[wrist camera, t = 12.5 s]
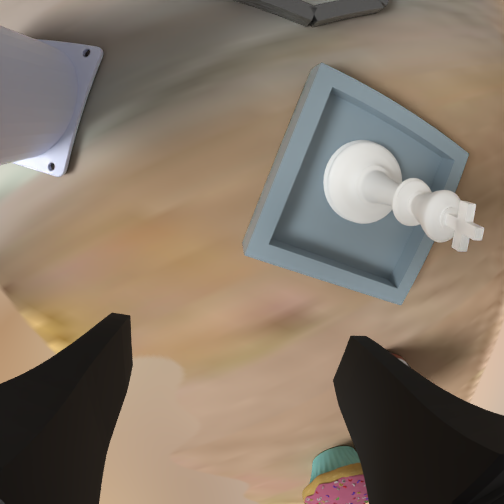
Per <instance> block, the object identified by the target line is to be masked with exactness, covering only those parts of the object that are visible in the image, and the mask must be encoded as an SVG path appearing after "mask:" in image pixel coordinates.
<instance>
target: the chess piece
mask: <svg viewBox="0 0 504 504" xmlns="http://www.w3.org/2000/svg"><path fill="white" fill-rule="evenodd" d="M323 185H324V192H325V196H326V199H327V201H328V203H329V205H330V206H331V208H332V209H333V210H334V211H335V212H336V213H337V214H338V215H339V216H341V217H342V218H344V219H346V220H349V221H352V222H355V223H360V224H367V223H373V222H376V221H378V220H380V219H382V218H384V217H385V216H386V215H387V214H389V213H390V212H391V210H392V209H393V213H394V216H395V217H396V219H397V220H398V221H399V222H400V223H401V224H403V225H406V226H416V225H419V224H420V225H421V227H422V229H423V230H424V232H425V233H426V235H427V236H428V237H429V238H430V239H432V240H433V241H435V242H446V241H448V240H450V239H452V238H453V242H452V248H453V249H455V250H457V251H458V252H467V248H468V244H469V239H470V238H471V239H472V240H482V237H483V233H484V227H482V226H480V225H478V224H475V223H473V220H474V214H475V209H476V204H474V203H471V202H469V201H462V200H460V198H459V197H458V195H457V194H455V193H454V192H452V191H449V190H439V191H435V192H431V190H430V188H429V187H428V185H427V184H426V183H425V182H423V181H422V180H420V179H418V178H409V179H406V180H405V181H403V182H402V174H401V170H400V167H399V164H398V162H397V160H396V159H395V157H394V156H393V154H392V153H391V152H390V151H389V150H387V149H386V148H385V147H383V146H381V145H379V144H377V143H375V142H372V141H368V140H356V141H352V142H349V143H347V144H345V145H343V146H341V147H340V148H339V149H338V150H337V151H336V152H335V153H334V154H333V155H332V156H331V158H330V160H329V161H328V163H327V166H326V169H325V172H324V180H323Z"/></svg>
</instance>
